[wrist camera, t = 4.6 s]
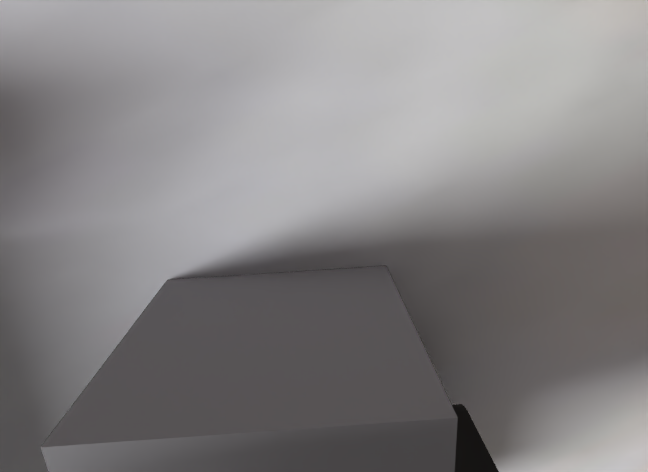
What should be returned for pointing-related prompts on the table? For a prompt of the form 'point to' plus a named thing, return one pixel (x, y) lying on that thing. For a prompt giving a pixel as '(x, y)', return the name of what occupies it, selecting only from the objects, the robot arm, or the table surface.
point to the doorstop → (264, 383)
